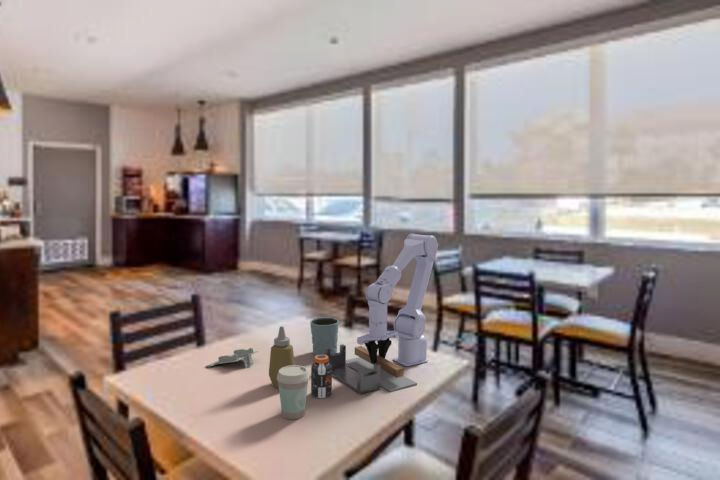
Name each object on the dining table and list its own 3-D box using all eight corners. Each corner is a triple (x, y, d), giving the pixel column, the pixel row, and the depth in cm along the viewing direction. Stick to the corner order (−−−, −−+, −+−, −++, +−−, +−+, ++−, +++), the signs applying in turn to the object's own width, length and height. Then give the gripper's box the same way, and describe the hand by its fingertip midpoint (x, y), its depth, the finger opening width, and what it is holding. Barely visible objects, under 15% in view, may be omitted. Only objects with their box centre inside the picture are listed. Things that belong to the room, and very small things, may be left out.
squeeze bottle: (300, 381, 147) (300, 324, 145) (288, 392, 140) (287, 332, 138) (277, 378, 150) (276, 322, 148) (263, 388, 142) (262, 329, 140)
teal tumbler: (344, 352, 174) (344, 319, 173) (327, 360, 166) (327, 326, 164) (321, 347, 180) (321, 315, 178) (304, 354, 171) (304, 322, 170)
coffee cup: (295, 425, 120) (295, 379, 119) (270, 416, 125) (269, 372, 123) (316, 412, 128) (316, 368, 126) (291, 404, 132) (291, 362, 131)
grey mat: (366, 357, 169) (366, 355, 169) (417, 384, 146) (417, 383, 146) (342, 362, 164) (342, 360, 164) (390, 391, 140) (390, 390, 140)
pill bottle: (328, 399, 135) (328, 361, 134) (308, 397, 136) (308, 359, 135) (334, 391, 141) (334, 353, 140) (314, 389, 142) (314, 352, 141)
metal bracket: (263, 343, 166) (232, 357, 153) (267, 360, 166) (236, 375, 153) (233, 348, 173) (201, 361, 160) (237, 364, 173) (205, 378, 159)
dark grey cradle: (342, 366, 161) (343, 344, 160) (380, 389, 142) (380, 364, 141) (324, 370, 157) (324, 347, 156) (360, 394, 139) (360, 369, 138)
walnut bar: (360, 353, 165) (360, 346, 165) (403, 376, 145) (403, 368, 145) (354, 354, 164) (354, 347, 164) (396, 377, 144) (396, 369, 144)
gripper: (365, 327, 146) (365, 370, 147) (403, 320, 153) (403, 361, 155) (353, 321, 152) (353, 363, 153) (390, 315, 159) (390, 355, 161)
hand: (377, 362), depth 154 cm, fingers closed on walnut bar, 2 cm apart
